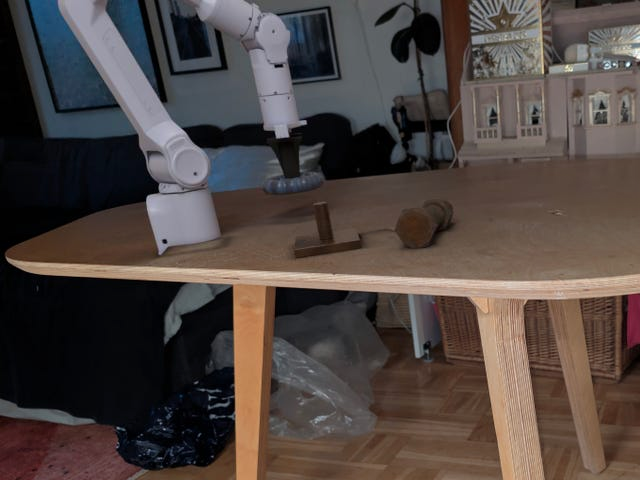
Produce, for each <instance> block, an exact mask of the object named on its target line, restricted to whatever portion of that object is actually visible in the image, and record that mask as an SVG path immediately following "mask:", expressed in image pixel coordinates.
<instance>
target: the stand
mask: <svg viewBox="0 0 640 480" xmlns="http://www.w3.org/2000/svg"><path fill="white" fill-rule="evenodd" d="M312 207H313V213H314V218H315V224H316V228H317V233H311V234H304V235H297V236H295V240H294V248H293V249H294V255H295V258H296V259H298V258H306V257H311V256H318V255H325V254H331V253H336V252H337V253H338V252H344V251H351V250H357V249H362V244H361V239H360V236H359V233H358V230H357V227H351V228H345V229H337V230H333V226H332V221H331V217H330V215H331V214H330V211H329V205H328V202H327V201H318V202H314V203H312Z"/></svg>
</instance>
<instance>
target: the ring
mask: <svg viewBox="0 0 640 480" xmlns="http://www.w3.org/2000/svg"><path fill="white" fill-rule="evenodd" d="M323 185H324V177H323V175H322V174H321V173H320V172H317V171H301V172H300V173H299V177H298V178H291V179H286V178H285V176H284V174H280V175H275V176H271V177H268V178H265V179H264V180H263V182H262V184H261V190H262V191H263V192H264V193H265V194H266V195H268V196H269V195H270V196H286V195H293V194H300V193H301V194H302V193H306V192H310V191H314V190H318V189H320V188H321V187H322V186H323Z"/></svg>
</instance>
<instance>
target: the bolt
mask: <svg viewBox="0 0 640 480" xmlns="http://www.w3.org/2000/svg"><path fill="white" fill-rule="evenodd" d="M453 215H454V207H453V204H451V202H449V201H448V200H445V199H444V198H433V199H426V200H425V201H424V202H423V205H422V207H409V208H403V209H402V210H401V212H400V214H399V216H398V218H397V221H396V224H395V227H394V231H395V233H396V235H397V237H398V238H399V240H400V241H401V242H402V243H403V244H404V246H406V248H410V249H415V248H425V247H426V248H427V247H429V246H431V244H432V242H433V240H434V237H435V234H436V232H438V231H445V230H447V229H448V227H449V225H450V223H451V220H452V218H453Z"/></svg>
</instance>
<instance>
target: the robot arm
mask: <svg viewBox="0 0 640 480" xmlns="http://www.w3.org/2000/svg"><path fill="white" fill-rule="evenodd" d="M108 1H109V0H57V6H58V10H59V12H60V14H61V16H62V18H63V19H64V21H65V22H66V24H67V25H68V27H69V28H70V30H71V32H72V33H73V35H74V36H75V38H76V40H77V41H78V43H79V44H80V46H81V47H82V49H83V50H84V52H85V53H86V55H87V57H88V58H89V60H90V61H91V62H92V64H93V66H94V67H95V69H96V71H97V72H98V74H99V76H100V77H101V78H102V80H103V81H104V83H105V85H106V86H107V88H108V90H109V91H110V93H111V94H112V95H113V97H114V99H115V101H116V102H117V104H118V105H119V106H120V108H121V110H122V111H123V112H124V114H125V116H126V117H127V119H128V120H129V122H130V123H131V125H132V127H133V128H134V130H135V132H136V133H137V134H138V145H139V148H140V150H141V151H142V154H143V155H144V158H145V162H146V168H147V171H148V173H149V175H150V177H151V178H152V179H153V180H154V181H155V182H157V183H159V184H158V191H159V192H158V193H153V194H152V193H151V194H148V195H147V196H146V199H145V200H146V201H145V203H146V210H147V215H148V219H149V222H150V225H151V230H152V232H153V236H154V239H155V242H156V246H157V250H158V252H157V254H158V256H161V255H162V254H163V253H164V252H165V251H166V249H167V248H169V247H175V246H185V245H194V244H199V243H205V242H209V241H212V240H215V239H218V238H220V237H221V236H222V232H221V228H220V225H219V221H218V216H217V212H216V208H215V204H214V201H213V200H214V199H213V197H212V192H211V188H210V185H209V182H208V179H209V177H210V174H211V169H212V168H211V161H210V158H209V157H208V155H207V153H206V152H205V151H204V150H203V149H202V148H200V147H199V146H198V145H196V144H195V143H194V141H192V140H191V138H190V137H189V135H188V134H187V132H186V131H185V130H184V129H182V127H180V126H179V125H178V124H177V123H176V122H175V121H174V120H172V117H171V116H170V115H169V113H168V111H167V110H166V108H165V106H164V105H163V103H162V101H161V100H160V98H159V97H158V95H157V93H156V91H155V90H154V88H153V87H152V85H151V83H150V81H149V80H148V78H147V76H146V75H145V73H144V71H143V70H142V68H141V66H140V65H139V64H138V61H137V60H136V58H135V57H134V55H133V53H132V52H131V50H130V49H129V47H128V45H127V44H126V42H125V40H124V38H123V37H122V35H121V33H120V32H119V30H118V28H117V27H116V26H115V24H114V22H113V21H112V19H111V17H110V16H109V14H108V12H107V9H106V8H107V4H108ZM180 1H181V2H183V3H185V4H187V5H189V6H191V7H193V8H194V9H195V12H196V14H197V16H198V18H199V19H200V21H201V22H203V23H205V24H207V25H208V26H210V27H212V28H214V29H216V30H217V31H219V32H221V33H223V34H225V35H226V36H228V37H230V38H232V39H234V40H236V41H237V42H239V44H240V46H241V47H242V49H243V50H244V51H245V52H246V53H248V54H249V58H250V63H251V69H252V73H253V78H254V81H255V87H256V91H257V97H258V102H259V107H260V111H261V116H262V120H263V130H264V131H268V132H269V131H270V132H274V133H275V137H270V138H266V143H267V144H268V146H269V147H270V148H271V150H272V151H273V153H274V154H275V157H276V158H277V161H278V163H279V166H280V169H281V171H282V175H284V176H285V178H286V179H291V178H298V177H299V173H300V171H301V168H300V167H301V166H300V147H301V142H302V138H303V133H302V132H297V133H292V129H295V128H300V127H301V126H306V125H308V123H307V120H306V119H305V120H304V119H303V120H300V118H299V113H298V107H297V103H296V97H295V93H294V87H293V86H294V85H293V81H292V76H291V72H290V66H289V60H288V59H289V56H288V46H289V45H290V41H291V31H290V30H289V29H287V27H286V25H285V23H284V22H283V20H282V19H281V17H279V16H278V15H277V14H275V13H273V12H261V10H260V6H259V5H257V4H255V3H249V2H247V1H246V0H180Z"/></svg>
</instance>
